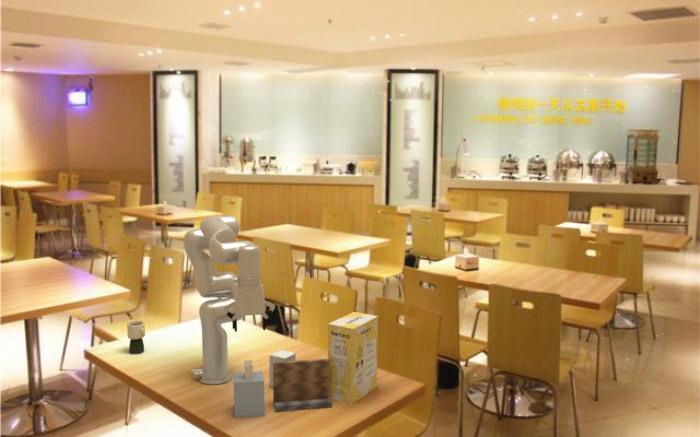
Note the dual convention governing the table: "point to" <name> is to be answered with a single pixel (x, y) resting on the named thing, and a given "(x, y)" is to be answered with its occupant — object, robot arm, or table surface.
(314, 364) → the walnut wall board
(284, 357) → the supplement box
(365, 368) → the pasta box
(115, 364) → the table surface
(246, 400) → the slate cabinet
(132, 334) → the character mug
